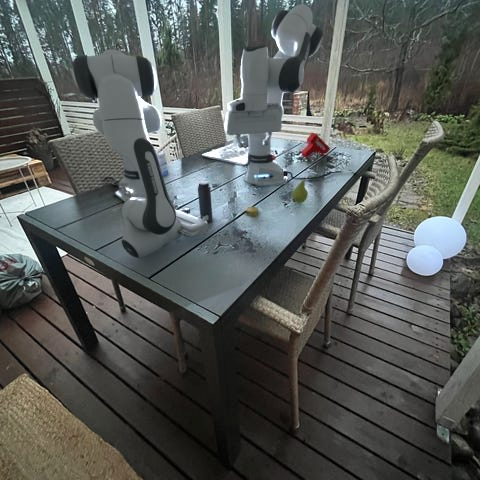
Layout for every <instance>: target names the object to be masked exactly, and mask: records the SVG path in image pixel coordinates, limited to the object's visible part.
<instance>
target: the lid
mask: <svg viewBox="0 0 480 480" xmlns="http://www.w3.org/2000/svg"><path fill="white" fill-rule="evenodd" d="M245 214H246V216H250V217H255V216H258V214H259V208H258V207H257V206H247V207H246V208H245Z"/></svg>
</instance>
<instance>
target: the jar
mask: <svg viewBox="0 0 480 480" xmlns="http://www.w3.org/2000/svg"><path fill="white" fill-rule="evenodd" d="M197 197H198V204H199V205H198V206H199V217H200V219H201V218H202V216H203V215H208V218H209V219H208V220H207V223H208V225H209V224H211V223H212V222H213V219H214V218H213V206H212V205H213V204H212V191H211V185H210V182H209V181H208V180H201V181H199V182H198V185H197Z"/></svg>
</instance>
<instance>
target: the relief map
mask: <svg viewBox="0 0 480 480" xmlns="http://www.w3.org/2000/svg"><path fill="white" fill-rule="evenodd" d="M248 152H249V146H248V147H245V148H244V147H242V148H239V147H238V142H231V143H230V144H228V145H225V146H223V147H219V148H217V149H212V150H211V151H209V152H205V153H202V154H201V157H204V158H208V159H213V160H217V161H222V162H226V163H231V164H234V165H235V164H236V165H240V166H246V165H248V163H247V155H248Z"/></svg>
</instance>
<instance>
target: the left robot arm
mask: <svg viewBox="0 0 480 480" xmlns="http://www.w3.org/2000/svg"><path fill="white" fill-rule="evenodd" d="M71 72H72V73H71V74H72V78H73V81H74V83H75V86H76V87H77V88H78V91H79V92H80V94H82V95H83V96H85V97H86V98H89V99H91V100H92V101H94V102H97V101H98V108H95V110H94V111H93V114H92V123H93V125H94V127H95V129H96V130H97V131H98V133H99V134H100V135H102V136H104V138H105V139H106V142H107V144H108V146H109V148H111V150H113V152H115V153H117V154H118V155H120V156H121V158H122V161H123V165H124V167H123V168H122V172H123V174H124V176H123V177H122V179H121V180H120V181H119V182H118V184H115V183H116V182H117V180H116V178H114V177H111V176H106V177H104V181H106V180H108V179H110V180H112V182H111V186H112V187H115V188H118V190H117V191H115V192H114V194H115V196H116V197H117V198H119V199H120V200H122V201H123V204H122V206H121V210H120V211H121V212H120V213H121V218H122V220H123V234H122V235H123V236H122V238H121V245H122V247H123V249H124V250H125V252H126V253H128V254H129V255H130V256H131V257H133V258H137V259H141V258H144V257H147V256H149V255H152V254H154V253H156V252H157V251H159V250H160V249H161V248H163V247H164V246H167V245H169V244H171V243H173V242H175V241H177V240H178V239H180V238H181V237H182V236H185V237H187V238H196V237H199V236H201V235H203V234H206V233H207V232H209V224H208V223H207V220H208V219H209V218H208V215H203V216H202V218H201V217H200V218H199V217H197V216H193V215H191V214H190V213H191V209H190V208H188V207H186V208H181V209H176V207H175V205H174V204H173V202H172V200H171V197H170V196H169V193H168V189H167V186H166V181H165V177H164V176H163V174H162V170H161V166H160V163H159V159H158V156H157V153H158V152H157V150H156V148H155V146H154V145H153V144H152V142H151V140H150V137H149V135H148V134H152V133H154V132H158V131H159V130H160V128H161V126H162V116H161V113H160V111H159V110H158V108H157V107H156V106H155V105H152V104H150V103H148V102H146V101H145V100H144V99H143V98H148V97H152V96H153V95H154V93H155V92H156V87H157V74H156V71H155V68H154V67H153V65H152V62H151V61H150V60H149V59H148V58H147V57H144V56H140V55H135V56H134V55H128V54H125V53H124V52H122V51H120V50H118V49H113V48H111V49H107V50H105V51H102V53H101V54H96V55H89V56H88V55H87V54H83V55H79V56H76V57H74V59H73V60H72V68H71ZM141 97H142V98H141Z"/></svg>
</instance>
